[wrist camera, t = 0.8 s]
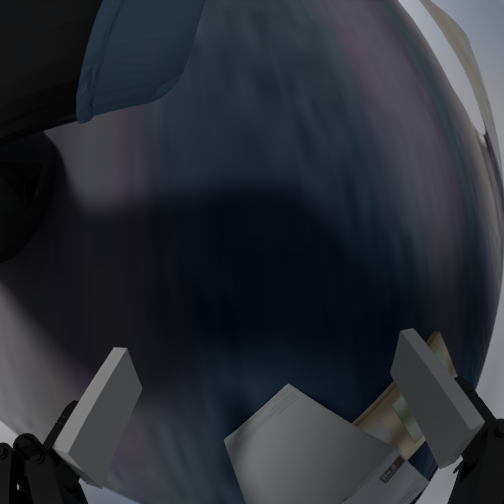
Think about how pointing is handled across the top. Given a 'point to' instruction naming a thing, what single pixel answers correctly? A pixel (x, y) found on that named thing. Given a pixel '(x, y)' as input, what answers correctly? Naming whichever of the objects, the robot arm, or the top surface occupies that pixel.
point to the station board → (400, 410)
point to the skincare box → (316, 458)
